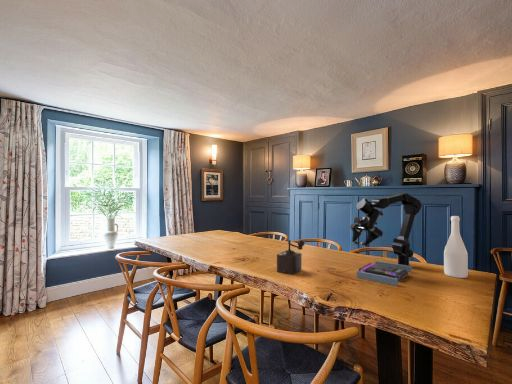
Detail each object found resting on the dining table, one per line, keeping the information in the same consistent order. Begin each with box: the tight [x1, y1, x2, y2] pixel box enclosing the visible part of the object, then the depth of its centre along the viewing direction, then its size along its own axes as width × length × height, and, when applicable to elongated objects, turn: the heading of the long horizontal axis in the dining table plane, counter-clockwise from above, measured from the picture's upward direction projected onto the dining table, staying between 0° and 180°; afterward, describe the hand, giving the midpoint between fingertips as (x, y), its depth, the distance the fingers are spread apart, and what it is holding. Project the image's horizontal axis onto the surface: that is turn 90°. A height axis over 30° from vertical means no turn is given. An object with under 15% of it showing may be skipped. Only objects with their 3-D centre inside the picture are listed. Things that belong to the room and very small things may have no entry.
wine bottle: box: [443, 215, 469, 279], centre depth 132 cm, size 10×10×30 cm
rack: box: [356, 260, 413, 287], centre depth 134 cm, size 28×18×3 cm, turn 138°
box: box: [358, 262, 409, 283], centre depth 134 cm, size 14×4×20 cm
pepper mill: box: [276, 239, 305, 275], centre depth 139 cm, size 16×11×18 cm
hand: (358, 243), depth 139 cm, fingers open, 9 cm apart
